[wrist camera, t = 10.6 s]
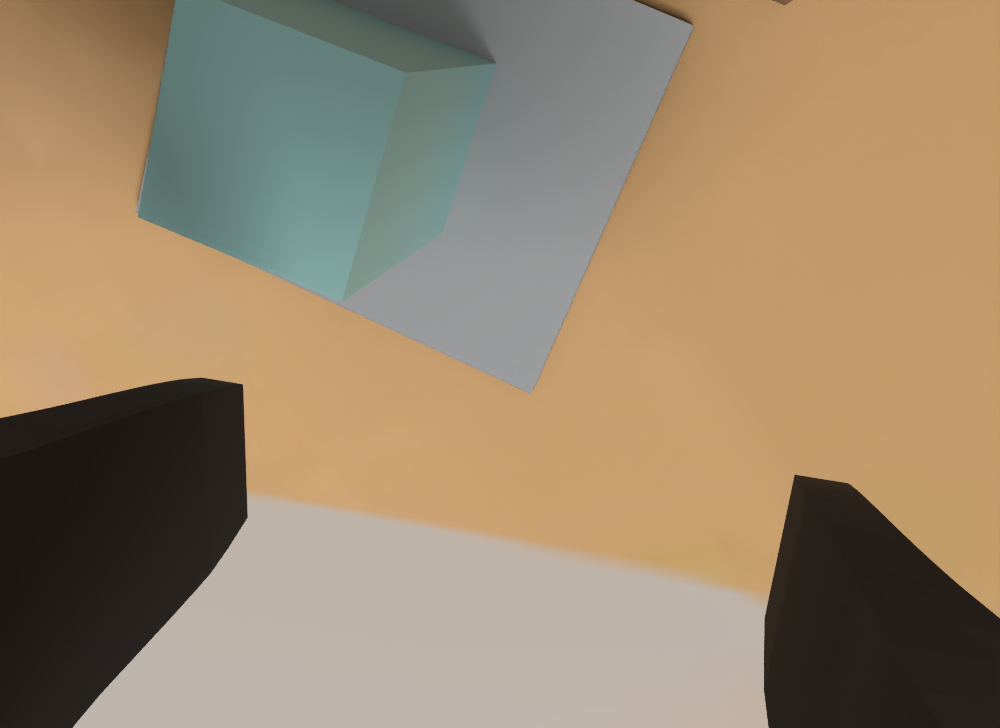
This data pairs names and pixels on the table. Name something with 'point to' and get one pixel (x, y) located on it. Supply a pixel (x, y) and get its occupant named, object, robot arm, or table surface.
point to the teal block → (309, 137)
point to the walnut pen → (783, 1)
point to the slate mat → (525, 172)
